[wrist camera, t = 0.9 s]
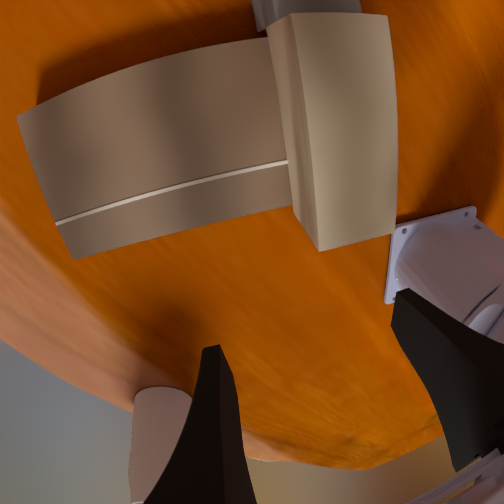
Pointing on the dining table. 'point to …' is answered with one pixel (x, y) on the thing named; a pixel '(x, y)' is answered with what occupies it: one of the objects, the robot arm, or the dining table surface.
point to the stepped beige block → (335, 115)
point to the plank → (161, 147)
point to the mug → (154, 436)
